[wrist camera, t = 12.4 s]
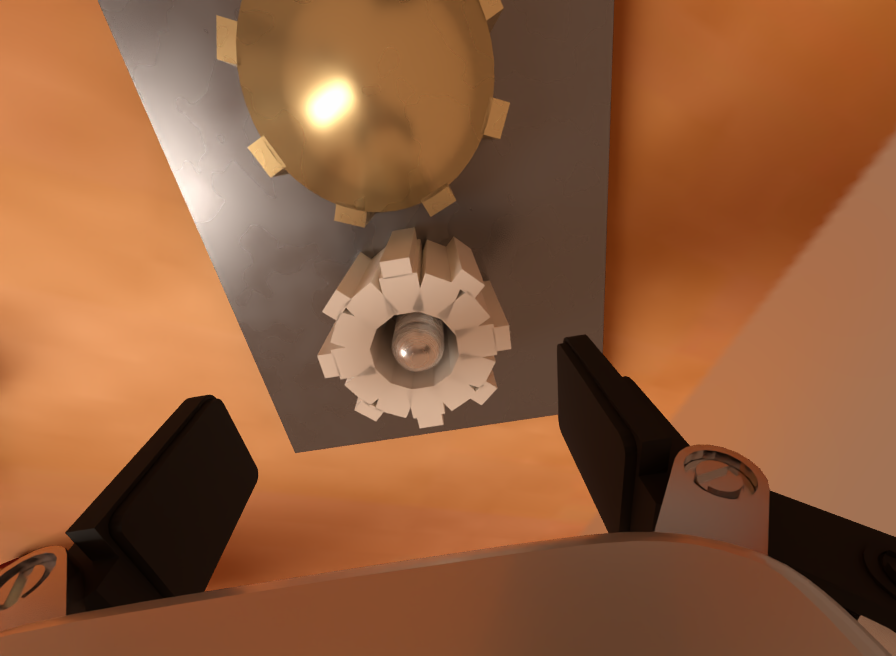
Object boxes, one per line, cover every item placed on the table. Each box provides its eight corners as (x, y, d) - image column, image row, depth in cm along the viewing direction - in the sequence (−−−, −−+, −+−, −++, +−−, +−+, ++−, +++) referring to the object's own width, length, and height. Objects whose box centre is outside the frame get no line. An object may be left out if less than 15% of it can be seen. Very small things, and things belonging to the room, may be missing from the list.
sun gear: (203, 42, 14) (148, 17, 11) (413, -138, 12) (408, -219, 9) (356, 252, 17) (343, 272, 15) (535, 137, 16) (557, 136, 13)
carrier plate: (85, -91, 13) (-226, -302, 7) (601, -189, 13) (767, -512, 6) (302, 435, 24) (257, 540, 17) (590, 392, 23) (650, 485, 17)
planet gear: (326, 242, 17) (289, 277, 13) (482, 215, 17) (501, 242, 12) (365, 373, 20) (346, 439, 16) (497, 352, 20) (517, 413, 16)
